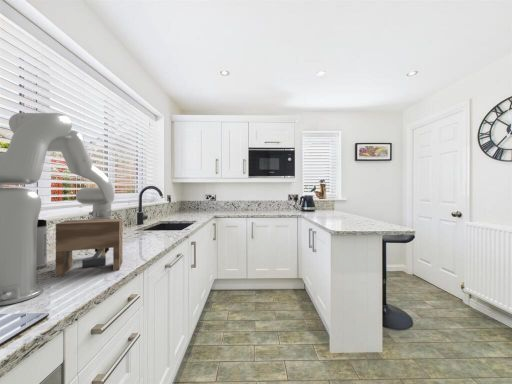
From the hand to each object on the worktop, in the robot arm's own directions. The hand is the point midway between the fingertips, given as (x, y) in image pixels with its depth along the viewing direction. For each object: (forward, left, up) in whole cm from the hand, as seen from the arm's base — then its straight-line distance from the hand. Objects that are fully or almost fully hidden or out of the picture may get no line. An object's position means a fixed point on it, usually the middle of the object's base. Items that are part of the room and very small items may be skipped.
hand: (102, 252), depth 116 cm
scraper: (-8, 0, -2) cm, 8 cm away
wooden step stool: (-21, 0, -2) cm, 21 cm away
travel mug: (-11, +21, -2) cm, 24 cm away
